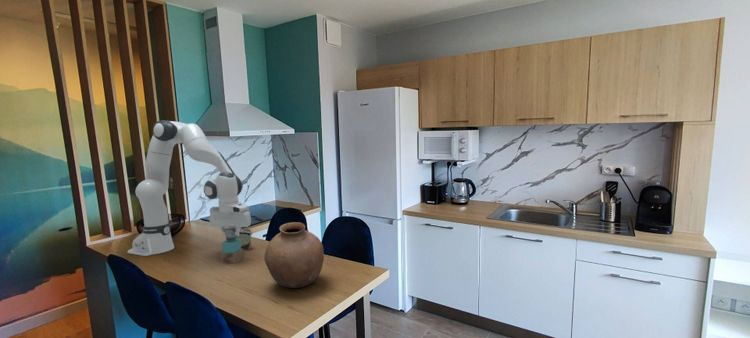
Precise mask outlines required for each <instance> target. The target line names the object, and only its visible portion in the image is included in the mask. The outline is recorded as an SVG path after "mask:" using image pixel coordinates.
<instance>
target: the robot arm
mask: <svg viewBox="0 0 750 338" xmlns="http://www.w3.org/2000/svg"><path fill="white" fill-rule="evenodd" d="M177 144H179V145H183V147H184V150H185V151H186V152H185V153H186V154H187V156H188V157H189V158H190V159H191V160H193V161H196V162H200V163H206V164H208V165H209V164H210V165H211V166H213V167H215V168H217V170H218V172H219V173H218V174H217V176H216V177H214V178H211V179H210V180H207V181H205V183H204V185H203V193H204V195H205V196H206V198H208V199H209V200H218V206H212V207H210V208H209V225H210V226H211V227H219V228H220V231H221V232H222V235H223V236H226V235H225V228H228V227H236V230H237V231H236V232H234V233H235V236H238V235H239V231H240V229H242V228H247V227H249V226H251V224H252V217H251V216H252V215H251V212H250V211H249V209H250V206H249V205H248V204H246V203H243V202H241V201H240V200H239V198H238V197H239V195H240V194H241V193H242V190H243V182H242V180H241V178H239V176H238V175H237V174H236V173H235V172H234V170H233V169H232V168H231V166H230V164H229V163H228V162H227V160H226V158H225V157H224V156H223V154H222V153H221V152H220V151H218V150H216V149H215V148H214V146H213V145H211V143H210V142H209V141H208V138H207V137H206V135H205V132H204V131H203V129H202V128H201V127H200V126H199V125H198V124H196V123H186V122H181V121H172V120H167V119H165V120H164V119H163V120H157V121H156V122H155V123H154V125H153V127H152V137H151V139H150V141H149V144H148V148H147V152H146V158H145V163H144V164H145V165H144V167H145V179H144V180H142V181H141V182H139V183H138V185H137V186H136V187H135V192H134V193H135V195H136V198H138V201H139V204H140V206H141V207H140V208H141V211H142V216H143V224H144V225H143V226H141V227H140V230H142V231H141V233H140V234H139V235H138V236H136V237H135V238H134V239H133V240H132V247H131V248H130V249H129V250H127V254H130V255H131V254H132V255H136V256H142V257H147V256H152V255H158V254H159V255H160V254H163V253H166V252H167V253H168V252H170V251H172V250H174V249H175V244H174V242H173V237H172V234H171V224H170V222H169V213H168V212H169V211H168V207H167V205H166V203H165V200H164V195H165V194H166V193H167V192H168V190H169V187H170V186H169V185H170V184H169V181H170V167H171V161H172V156H173V150H174V147H175V146H176V145H177Z"/></svg>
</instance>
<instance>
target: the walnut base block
mask: <svg viewBox="0 0 750 338" xmlns="http://www.w3.org/2000/svg"><path fill="white" fill-rule="evenodd" d="M220 255H221V263H222V264H233V265H236V264H237V263H239V262H240V261H242V260H243V259H244V250H243V249H241V250H239V251H237V252H236V253H223V251H222V252H221V253H220Z"/></svg>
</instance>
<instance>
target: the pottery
mask: <svg viewBox="0 0 750 338" xmlns="http://www.w3.org/2000/svg"><path fill="white" fill-rule="evenodd" d="M279 231H280V232H279V233H277V234H276V235H275V236H274V237H272V238H271V240H270V241H269V243H268V245H267V246H266V249H265V253H264V256H263V257H264V259H263V260H264V262H265V266H266V268H267V269H268V271H269V274H270V276H271V277H272V279H273V280H274V282H276V283H277V284H278V285H280V286H282V287H286V288H289V289H298V288H299V289H300V288H303V287H306V286H308V285H309V286H310V284H312V283H314V282H315V281H316V280H317V279H318V277H319V275H320V274H321V272H322V269H323V265H324V259H325V255H324V254H325V253H324V251H325V250H324V246H323V243H322V242H321V240H320V238H319V237H318V236H317V235H315V234H314V233H312V232H310V231H309V230H306V225H305V224H304V223H303V222H296V221H295V222H293V221H292V222H287V223H284V224H281V225H280V227H279Z"/></svg>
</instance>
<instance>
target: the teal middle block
mask: <svg viewBox="0 0 750 338" xmlns="http://www.w3.org/2000/svg"><path fill="white" fill-rule="evenodd" d="M221 246H222V252H223V253H236V252H237V251H239V250H241V239H234V240H226V239H225V240H224V241H222V242H221Z"/></svg>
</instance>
